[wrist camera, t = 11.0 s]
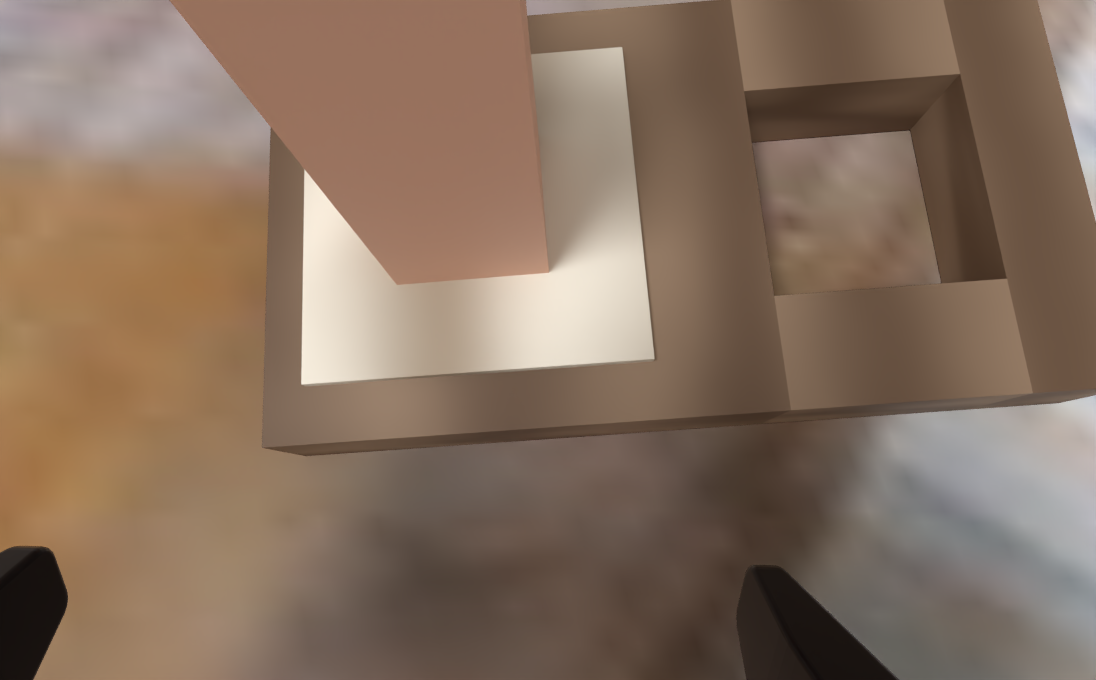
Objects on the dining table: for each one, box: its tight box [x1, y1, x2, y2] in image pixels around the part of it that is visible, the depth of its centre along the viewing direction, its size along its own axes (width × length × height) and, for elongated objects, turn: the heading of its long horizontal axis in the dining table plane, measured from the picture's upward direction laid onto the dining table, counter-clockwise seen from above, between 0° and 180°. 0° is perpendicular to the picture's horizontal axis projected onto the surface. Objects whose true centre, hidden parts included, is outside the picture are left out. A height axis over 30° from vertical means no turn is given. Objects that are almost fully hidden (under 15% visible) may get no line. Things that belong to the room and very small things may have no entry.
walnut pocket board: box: [262, 0, 1096, 456], centre depth 20 cm, size 22×12×3 cm, turn 94°
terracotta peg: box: [170, 0, 549, 285], centre depth 13 cm, size 4×4×12 cm
